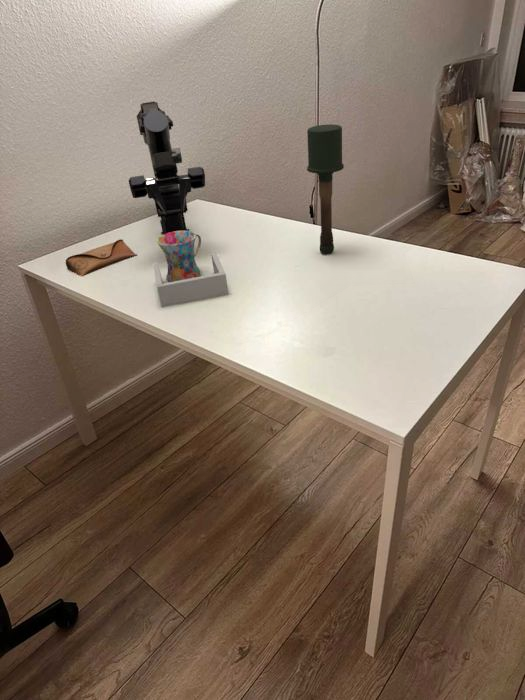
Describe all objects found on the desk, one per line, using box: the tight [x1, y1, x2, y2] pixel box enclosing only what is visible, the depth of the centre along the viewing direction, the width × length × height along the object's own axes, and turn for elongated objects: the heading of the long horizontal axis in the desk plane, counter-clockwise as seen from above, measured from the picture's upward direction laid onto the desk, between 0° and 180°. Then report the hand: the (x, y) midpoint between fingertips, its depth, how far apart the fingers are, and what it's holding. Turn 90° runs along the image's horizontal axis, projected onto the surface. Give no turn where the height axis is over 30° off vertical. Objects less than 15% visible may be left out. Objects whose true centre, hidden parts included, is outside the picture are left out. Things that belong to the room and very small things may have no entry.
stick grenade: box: [306, 123, 345, 255], centre depth 118 cm, size 8×9×30 cm
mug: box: [156, 230, 202, 282], centre depth 119 cm, size 12×9×11 cm
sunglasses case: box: [65, 238, 138, 277], centre depth 135 cm, size 18×7×7 cm
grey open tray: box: [153, 252, 229, 308], centre depth 115 cm, size 14×15×5 cm
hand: (174, 212), depth 122 cm, fingers open, 4 cm apart
